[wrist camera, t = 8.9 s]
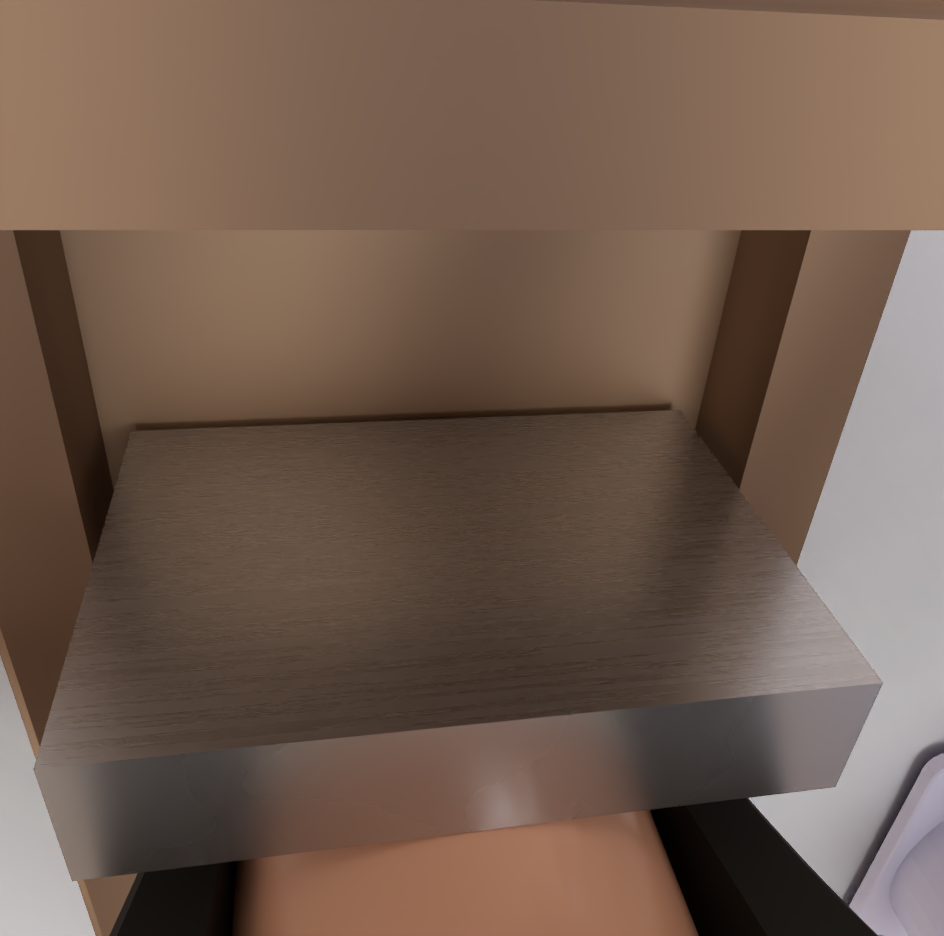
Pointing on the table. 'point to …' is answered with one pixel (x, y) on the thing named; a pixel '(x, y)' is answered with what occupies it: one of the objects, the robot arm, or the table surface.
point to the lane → (437, 238)
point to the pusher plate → (431, 640)
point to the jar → (474, 885)
